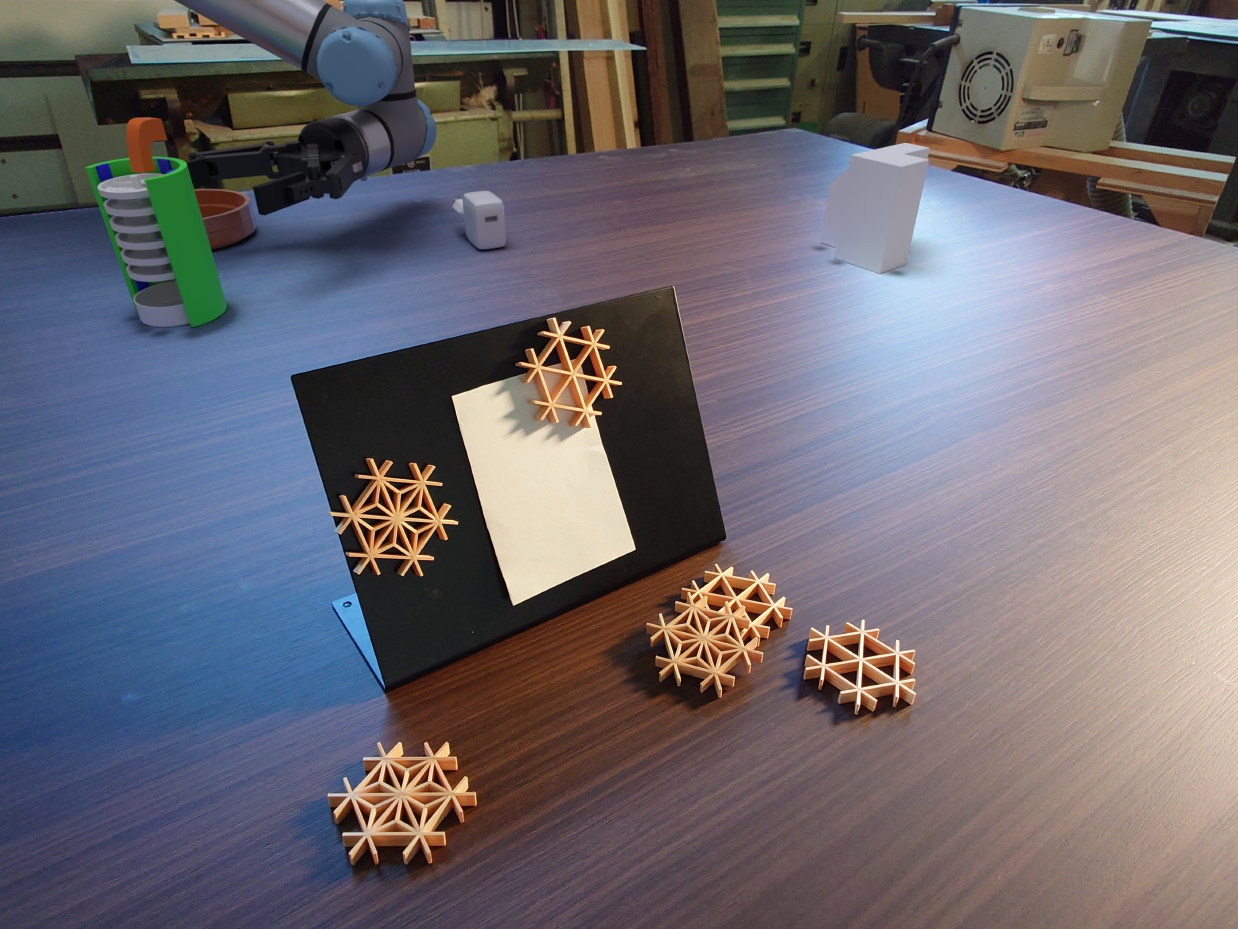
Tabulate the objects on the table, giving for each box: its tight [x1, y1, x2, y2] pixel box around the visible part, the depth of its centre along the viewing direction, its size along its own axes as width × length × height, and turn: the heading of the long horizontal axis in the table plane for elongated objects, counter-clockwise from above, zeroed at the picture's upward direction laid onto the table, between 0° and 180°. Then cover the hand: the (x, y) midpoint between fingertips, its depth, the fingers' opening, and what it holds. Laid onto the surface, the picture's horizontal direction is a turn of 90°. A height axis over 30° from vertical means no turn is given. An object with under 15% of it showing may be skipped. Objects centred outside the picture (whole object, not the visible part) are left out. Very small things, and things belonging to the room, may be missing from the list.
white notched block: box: [820, 142, 931, 274], centre depth 97 cm, size 11×11×12 cm
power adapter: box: [452, 190, 507, 250], centre depth 101 cm, size 11×5×6 cm, turn 26°
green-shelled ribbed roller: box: [84, 116, 228, 328], centre depth 77 cm, size 9×8×18 cm
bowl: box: [194, 188, 258, 251], centre depth 100 cm, size 14×14×4 cm
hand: (205, 193), depth 81 cm, fingers open, 13 cm apart
